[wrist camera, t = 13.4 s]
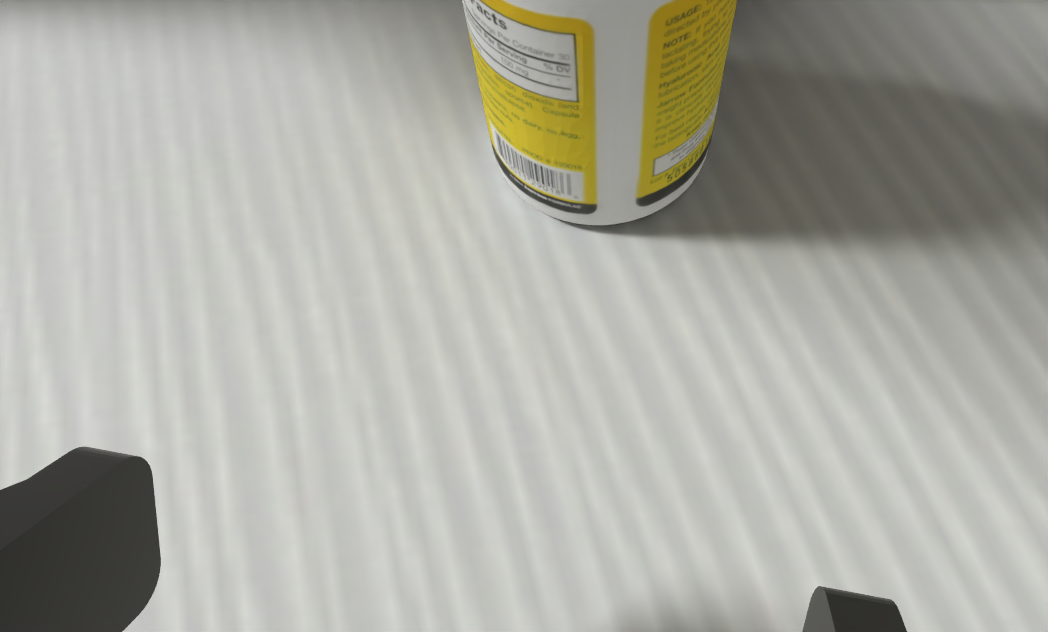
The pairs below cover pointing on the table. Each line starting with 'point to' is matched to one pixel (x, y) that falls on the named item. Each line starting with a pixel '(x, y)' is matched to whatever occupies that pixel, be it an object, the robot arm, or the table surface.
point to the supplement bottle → (600, 99)
